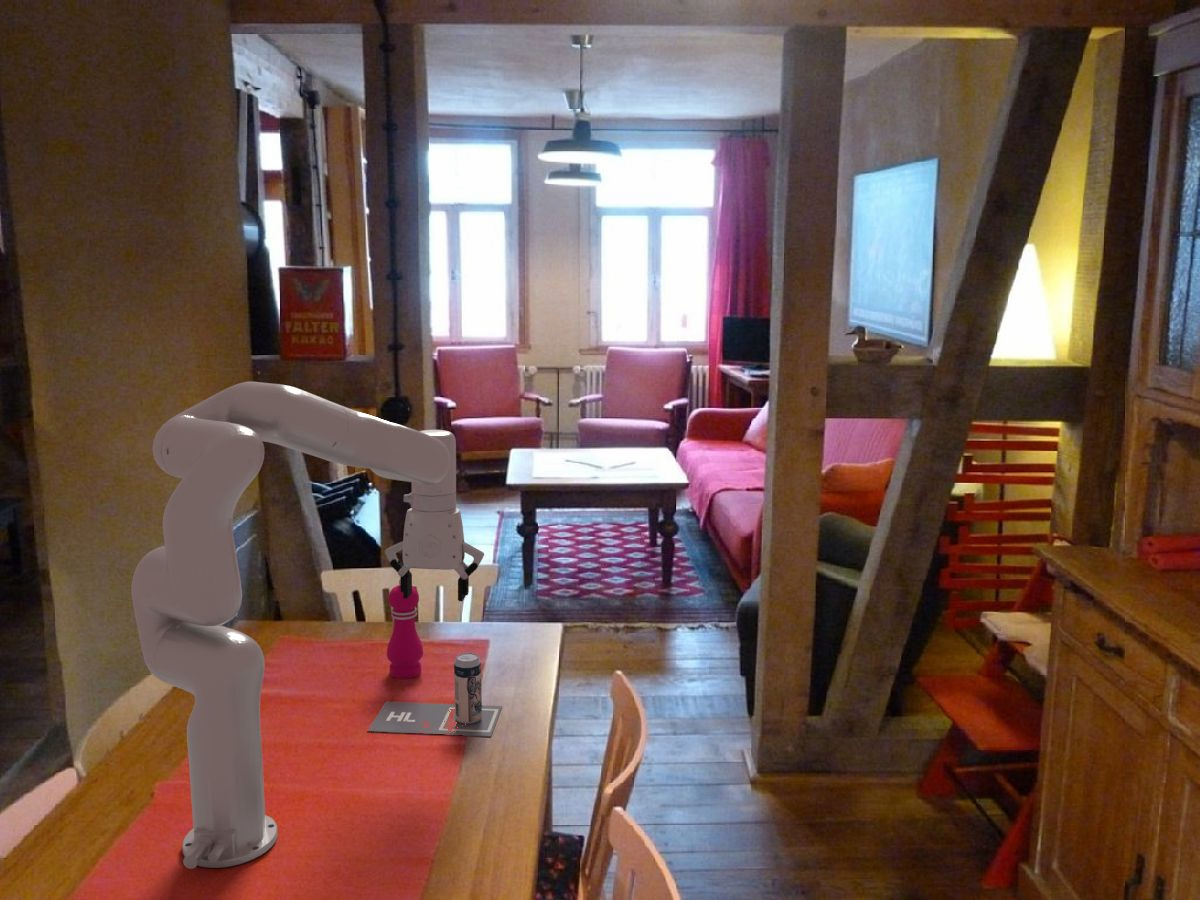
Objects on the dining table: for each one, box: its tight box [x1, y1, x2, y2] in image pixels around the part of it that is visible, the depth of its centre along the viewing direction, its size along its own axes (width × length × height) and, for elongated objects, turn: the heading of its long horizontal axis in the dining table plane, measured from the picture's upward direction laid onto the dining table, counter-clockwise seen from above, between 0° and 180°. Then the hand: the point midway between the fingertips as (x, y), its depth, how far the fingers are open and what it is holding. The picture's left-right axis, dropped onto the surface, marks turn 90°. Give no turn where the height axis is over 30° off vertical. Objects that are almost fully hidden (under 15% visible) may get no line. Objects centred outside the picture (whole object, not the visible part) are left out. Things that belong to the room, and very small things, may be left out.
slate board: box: [366, 701, 503, 738], centre depth 178 cm, size 12×22×1 cm, turn 86°
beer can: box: [453, 652, 483, 724], centre depth 176 cm, size 5×5×12 cm
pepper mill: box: [386, 579, 424, 680], centre depth 196 cm, size 7×7×20 cm
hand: (434, 597), depth 171 cm, fingers open, 9 cm apart
